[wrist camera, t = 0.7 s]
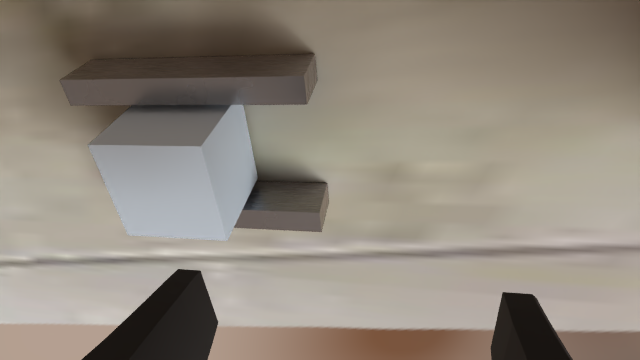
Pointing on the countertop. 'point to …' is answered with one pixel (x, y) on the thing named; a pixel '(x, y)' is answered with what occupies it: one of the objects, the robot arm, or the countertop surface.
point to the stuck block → (177, 169)
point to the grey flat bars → (217, 89)
